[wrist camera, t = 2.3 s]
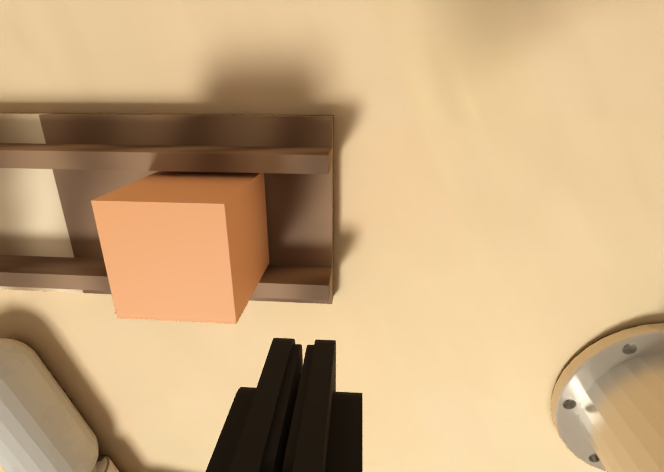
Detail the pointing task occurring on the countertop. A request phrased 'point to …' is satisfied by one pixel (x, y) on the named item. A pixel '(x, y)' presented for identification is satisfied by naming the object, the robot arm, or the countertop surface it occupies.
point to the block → (184, 245)
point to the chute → (145, 159)
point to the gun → (41, 419)
